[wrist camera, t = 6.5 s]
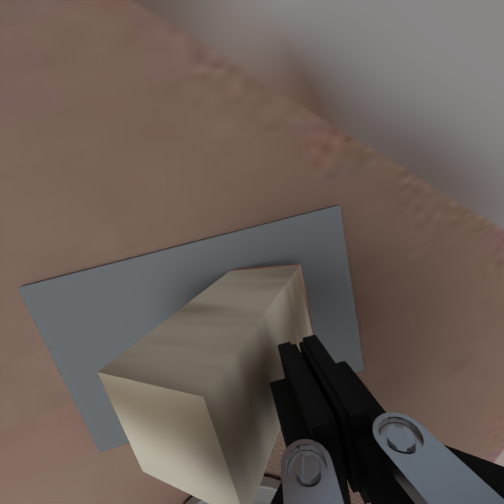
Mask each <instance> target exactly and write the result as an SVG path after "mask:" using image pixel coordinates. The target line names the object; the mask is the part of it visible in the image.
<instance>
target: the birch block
mask: <svg viewBox="0 0 504 504" xmlns="http://www.w3.org/2000/svg"><path fill="white" fill-rule="evenodd" d="M311 335H314V330H313V325H312V320H311V315H310V310H309V305H308V300H307V295H306V290H305V285H304V280H303V275H302V270H301V265H287V266H273V267H258V268H244V269H232V270H230V271H229V272H228V273H226V274H225V275H224V276H223V277H221V278H220V279H219V280H217V281H216V282H215V283H213V284H212V285H211V286H209V287H208V288H207V289H206V290H204V291H203V292H202V293H200V294H199V295H198V296H196V297H195V298H194V299H192V300H191V301H190V302H189V303H187V304H186V305H185V306H183V307H182V308H181V309H179V310H178V311H177V312H175V313H174V314H173V315H172V316H170V317H169V318H168V319H166V320H165V321H164V322H162V323H161V324H160V325H158V326H157V327H156V328H155V329H153V330H152V331H151V332H149V333H148V334H147V335H145V336H144V337H143V338H141V339H140V340H139V341H138V342H136V343H135V344H134V345H132V346H131V347H130V348H128V349H127V350H126V351H124V352H123V353H122V354H120V355H119V356H118V357H117V358H115V359H114V360H113V361H111V362H110V363H109V364H107V365H106V366H105V367H103V368H102V369H101V370H100V371H98V375H99V377H100V379H101V381H102V383H103V385H104V388H105V390H106V392H107V394H108V396H109V399H110V401H111V403H112V405H113V407H114V410H115V412H116V414H117V416H118V418H119V420H120V423H121V425H122V427H123V429H124V431H125V434H126V436H127V438H128V440H129V442H130V445H131V447H132V449H133V451H134V453H135V455H136V458H137V460H138V462H139V464H140V466H141V469H142V471H143V472H145V473H147V474H149V475H151V476H153V477H155V478H157V479H159V480H161V481H163V482H165V483H168V484H170V485H172V486H174V487H176V488H178V489H180V490H182V491H184V492H186V493H188V494H190V495H192V496H194V497H196V498H198V499H200V500H203V501H205V502H207V503H209V504H253V502H254V500H255V497H256V494H257V491H258V489H259V486H260V483H261V480H262V478H263V475H264V472H265V469H266V467H267V464H268V461H269V459H270V456H271V453H272V450H273V448H274V445H275V442H276V439H277V437H278V434H279V431H280V428H281V426H280V422H279V419H278V415H277V411H276V407H275V403H274V399H273V395H272V391H271V387H270V382H273V381H276V380H280V379H283V378H285V376H284V372H283V368H282V363H281V359H280V354H279V350H278V345H279V344H282V343H286V342H289V341H290V342H291V344H296V345H297V347H298V349H299V350H300V346H299V342H303V338H304V337H307V336H311ZM300 352H301V351H300Z"/></svg>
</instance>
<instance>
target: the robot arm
mask: <svg viewBox="0 0 504 504" xmlns="http://www.w3.org/2000/svg"><path fill="white" fill-rule="evenodd" d="M299 346H300V350H299V349H298V347H297V345H296V344H291V342H290V341H289V342H286V343H282V344H279V345H278V350H279V354H280V359H281V363H282V368H283V372H284V376H285V378H283V379H280V380H276V381H273V382H270V387H271V391H272V395H273V399H274V403H275V407H276V411H277V415H278V419H279V422H280V426H281V430H282V434H283V437H284V441H285V445H286V448H287V449H286V450H285V451H284V453H283V456H282V459H281V477H282V481H279V480H276V479H274V478H271V477H265V476H263V478H262V480H261V483H260V486H259V489H258V491H257V494H256V497H255V500H254V502H253V504H351V501H350V495H349V490H348V484H347V481H348V483H349V485H350V487H351V489H352V491H353V492H354V493H355V492H358V491H359V493H360V495H361V497H362V499H363V501H364V503H365V504H367V503H370V502H371V504H504V467H503V466H500V465H497V464H495V463H492V462H489V461H486V460H484V459H481V458H478V457H476V456H473V455H470V454H467V453H465V452H462V451H459V450H456V449H454V448H451V447H448V446H446V445H443V444H442V443H441V442H440V441H439V440H438V439H437V438H435V437H434V436H433V435H432V434H431V433H430V432H429V431H428V430H427V429H426V428H424V427H423V426H422V425H421V424H420V423H419V422H417V421H416V420H415V419H413V418H411V417H409V416H407V415H405V414H401V413H397V412H387V413H386V412H385V411H384V410H383V408H382V407H381V406H380V404H379V403H378V402H377V401H376V399H375V398H374V397H373V395H372V394H371V393H370V392H369V390H368V389H367V388H366V386H365V385H364V384H363V383H362V381H361V380H360V379H359V377H358V376H357V375H356V373H355V372H354V371H353V370H352V368H351V367H350V366H349V364H348V363H347V362H346V361H341V362H338V363H335V361H334V360H333V358H332V357H331V356H330V354H329V353H328V351H327V350H326V349H325V347H324V346H323V344H322V343H321V341H320V340H319V339H318V337H317V336H316V335H315V334H314V335H311V336H307V337H304V338H303V342H299ZM300 351H301V352H300ZM185 504H209V503H207V502H205V501H203V500H200V499H198V498H196V497H194V496H193V497H192V498H191V499H190V500H188V501H187V502H186V503H185Z"/></svg>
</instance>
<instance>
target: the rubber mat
mask: <svg viewBox="0 0 504 504" xmlns="http://www.w3.org/2000/svg"><path fill="white" fill-rule="evenodd" d="M287 265H301V270H302V275H303V280H304V285H305V290H306V295H307V300H308V305H309V310H310V315H311V320H312V325H313V330H314V334H315V335H316V336H317V337H318V339H319V340H320V341H321V343H322V344H323V346H324V347H325V349H326V350H327V351H328V353H329V354H330V356H331V357H332V358H333V360H334V361H335V363H338V362H341V361H346V362H347V363H348V364H349V366H350V367H351V368H352V370H353V371H354V372H355V373H357V372H361V371H364V370H365V369H364V362H363V355H362V349H361V342H360V335H359V328H358V322H357V315H356V308H355V302H354V295H353V288H352V281H351V275H350V268H349V261H348V254H347V248H346V241H345V234H344V228H343V221H342V214H341V207H340V205H335V206H331V207H328V208H324V209H320V210H316V211H312V212H308V213H304V214H300V215H296V216H292V217H289V218H285V219H281V220H277V221H273V222H269V223H265V224H261V225H257V226H253V227H250V228H246V229H242V230H238V231H234V232H230V233H226V234H222V235H218V236H214V237H211V238H207V239H203V240H199V241H195V242H191V243H187V244H183V245H179V246H175V247H172V248H168V249H164V250H160V251H156V252H152V253H148V254H144V255H140V256H137V257H133V258H129V259H125V260H121V261H117V262H113V263H109V264H105V265H101V266H98V267H94V268H90V269H86V270H82V271H78V272H74V273H70V274H66V275H62V276H59V277H55V278H51V279H47V280H43V281H39V282H35V283H31V284H27V285H23V286H21V287H19V288H18V289H19V291H20V293H21V295H22V297H23V299H24V301H25V303H26V305H27V307H28V309H29V311H30V313H31V315H32V317H33V319H34V321H35V323H36V325H37V327H38V329H39V331H40V333H41V335H42V337H43V339H44V341H45V343H46V345H47V347H48V349H49V351H50V353H51V355H52V357H53V359H54V361H55V363H56V365H57V367H58V369H59V371H60V373H61V375H62V377H63V379H64V381H65V383H66V385H67V387H68V389H69V391H70V393H71V395H72V397H73V399H74V401H75V403H76V405H77V407H78V409H79V411H80V413H81V415H82V417H83V419H84V421H85V423H86V425H87V427H88V429H89V431H90V433H91V435H92V437H93V439H94V441H95V443H96V445H97V447H98V449H99V451H100V452H101V451H104V450H108V449H111V448H114V447H117V446H121V445H124V444H127V443H130V442H129V440H128V438H127V436H126V434H125V431H124V429H123V427H122V425H121V423H120V420H119V418H118V416H117V414H116V412H115V410H114V407H113V405H112V403H111V401H110V399H109V396H108V394H107V392H106V390H105V388H104V385H103V383H102V381H101V379H100V377H99V375H98V371H100V370H101V369H102V368H103V367H105V366H106V365H107V364H109V363H110V362H111V361H113V360H114V359H115V358H117V357H118V356H119V355H120V354H122V353H123V352H124V351H126V350H127V349H128V348H130V347H131V346H132V345H134V344H135V343H136V342H138V341H139V340H140V339H141V338H143V337H144V336H145V335H147V334H148V333H149V332H151V331H152V330H153V329H155V328H156V327H157V326H158V325H160V324H161V323H162V322H164V321H165V320H166V319H168V318H169V317H170V316H172V315H173V314H174V313H175V312H177V311H178V310H179V309H181V308H182V307H183V306H185V305H186V304H187V303H189V302H190V301H191V300H192V299H194V298H195V297H196V296H198V295H199V294H200V293H202V292H203V291H204V290H206V289H207V288H208V287H209V286H211V285H212V284H213V283H215V282H216V281H217V280H219V279H220V278H221V277H223V276H224V275H225V274H226V273H228V272H229V271H230V270H232V269H244V268H258V267H273V266H287Z"/></svg>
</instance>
